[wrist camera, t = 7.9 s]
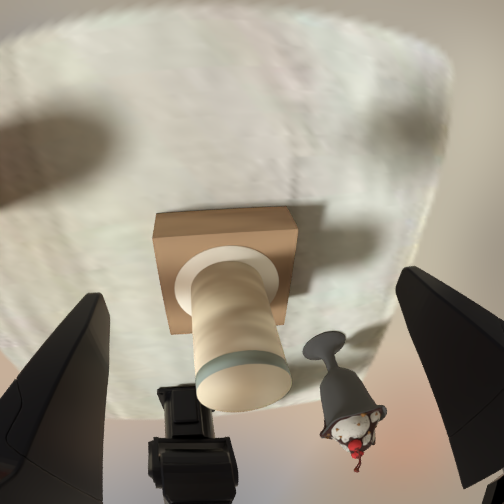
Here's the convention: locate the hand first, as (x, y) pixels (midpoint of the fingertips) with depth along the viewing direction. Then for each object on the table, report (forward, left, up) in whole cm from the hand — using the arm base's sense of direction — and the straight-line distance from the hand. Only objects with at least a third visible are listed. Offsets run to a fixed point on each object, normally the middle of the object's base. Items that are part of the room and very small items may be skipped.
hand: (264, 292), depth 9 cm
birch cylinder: (-9, 0, -10) cm, 13 cm away
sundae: (-22, -11, -13) cm, 28 cm away
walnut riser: (-9, 0, -13) cm, 16 cm away
